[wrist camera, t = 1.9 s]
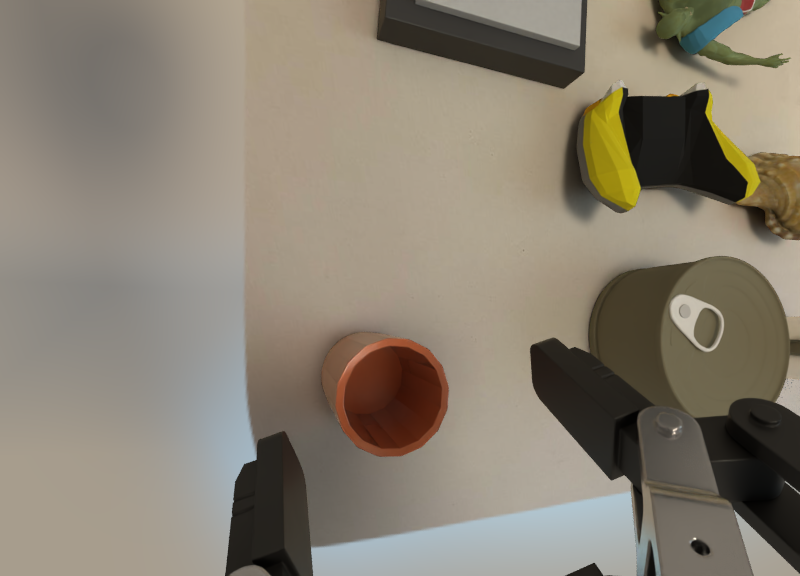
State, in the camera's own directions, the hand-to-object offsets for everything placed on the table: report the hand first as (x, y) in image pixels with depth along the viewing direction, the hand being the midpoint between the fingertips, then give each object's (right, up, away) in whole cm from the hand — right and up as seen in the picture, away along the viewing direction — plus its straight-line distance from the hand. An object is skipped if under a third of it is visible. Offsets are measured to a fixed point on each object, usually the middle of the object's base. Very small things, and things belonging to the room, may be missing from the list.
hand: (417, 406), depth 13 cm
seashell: (+36, +12, +28) cm, 47 cm away
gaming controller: (+19, +15, +23) cm, 34 cm away
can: (+20, 0, +22) cm, 30 cm away
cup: (-3, -2, +15) cm, 16 cm away
